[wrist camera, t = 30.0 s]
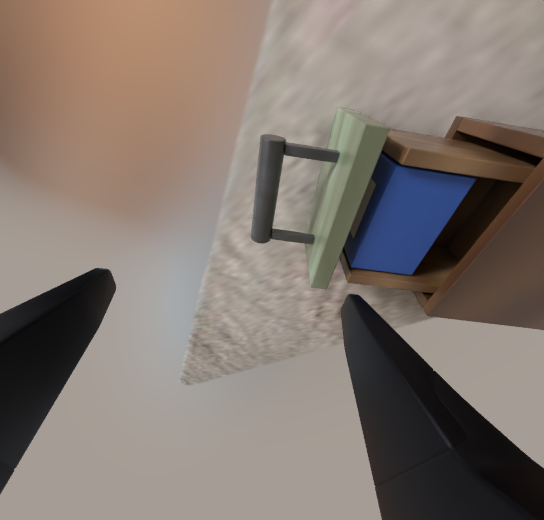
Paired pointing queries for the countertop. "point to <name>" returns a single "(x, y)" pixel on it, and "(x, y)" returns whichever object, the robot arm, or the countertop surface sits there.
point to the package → (402, 215)
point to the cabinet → (500, 245)
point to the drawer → (353, 183)
